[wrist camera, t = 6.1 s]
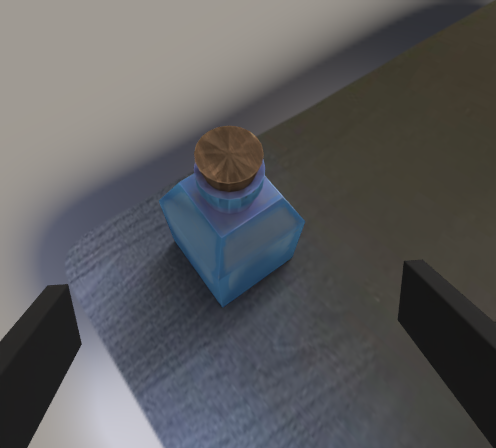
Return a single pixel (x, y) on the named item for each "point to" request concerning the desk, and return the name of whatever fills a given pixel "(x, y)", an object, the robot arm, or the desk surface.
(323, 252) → the desk surface
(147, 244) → the desk surface
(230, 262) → the perfume bottle
